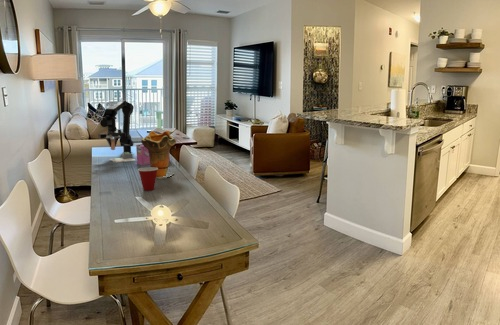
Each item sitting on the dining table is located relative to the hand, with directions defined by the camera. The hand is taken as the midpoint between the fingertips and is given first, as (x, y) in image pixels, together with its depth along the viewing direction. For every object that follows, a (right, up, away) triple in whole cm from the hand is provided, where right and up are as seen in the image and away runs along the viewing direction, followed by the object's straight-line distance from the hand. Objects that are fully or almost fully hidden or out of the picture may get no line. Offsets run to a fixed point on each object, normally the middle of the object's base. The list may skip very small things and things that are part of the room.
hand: (112, 146), depth 295 cm
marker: (0, -2, 0) cm, 2 cm away
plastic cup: (+46, -27, -76) cm, 93 cm away
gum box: (+32, -12, -8) cm, 35 cm away
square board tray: (+9, -10, -4) cm, 14 cm away
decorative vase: (+45, -20, -45) cm, 67 cm away
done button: (+10, -7, +2) cm, 12 cm away
